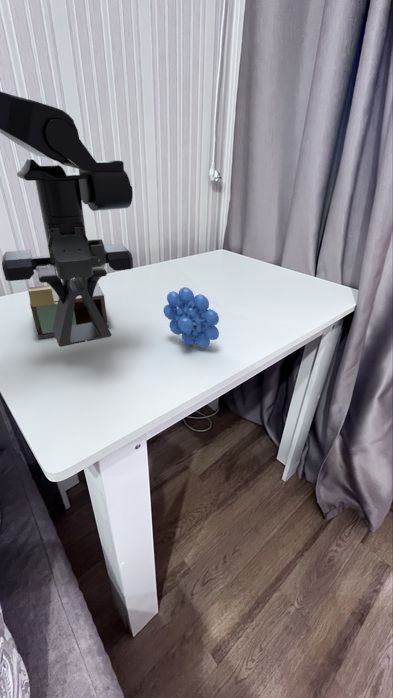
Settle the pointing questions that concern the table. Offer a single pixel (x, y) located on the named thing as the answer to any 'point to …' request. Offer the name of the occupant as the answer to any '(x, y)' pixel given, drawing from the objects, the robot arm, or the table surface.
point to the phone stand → (64, 316)
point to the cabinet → (79, 310)
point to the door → (45, 307)
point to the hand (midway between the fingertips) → (78, 309)
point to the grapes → (191, 317)
